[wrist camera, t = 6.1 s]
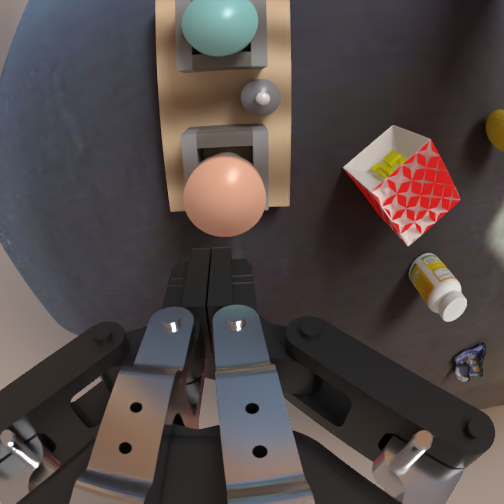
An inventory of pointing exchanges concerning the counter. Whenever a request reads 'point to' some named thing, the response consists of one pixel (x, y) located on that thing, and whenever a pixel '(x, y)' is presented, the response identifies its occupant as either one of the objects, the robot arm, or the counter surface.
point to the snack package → (470, 362)
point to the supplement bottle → (437, 287)
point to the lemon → (496, 129)
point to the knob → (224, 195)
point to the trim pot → (260, 97)
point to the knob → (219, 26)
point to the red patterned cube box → (404, 181)
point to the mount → (224, 100)
